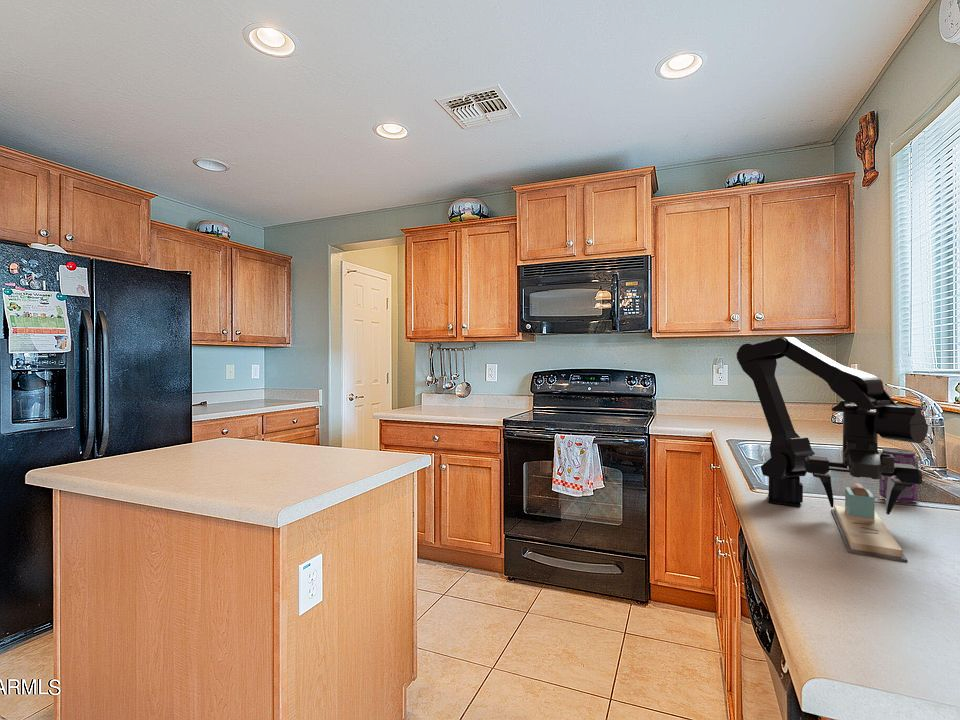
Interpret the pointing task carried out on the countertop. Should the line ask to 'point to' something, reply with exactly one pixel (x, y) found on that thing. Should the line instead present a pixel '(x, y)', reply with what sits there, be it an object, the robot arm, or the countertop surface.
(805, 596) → the countertop surface
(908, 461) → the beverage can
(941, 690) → the countertop surface
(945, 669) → the countertop surface
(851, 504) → the teal toaster
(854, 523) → the board
